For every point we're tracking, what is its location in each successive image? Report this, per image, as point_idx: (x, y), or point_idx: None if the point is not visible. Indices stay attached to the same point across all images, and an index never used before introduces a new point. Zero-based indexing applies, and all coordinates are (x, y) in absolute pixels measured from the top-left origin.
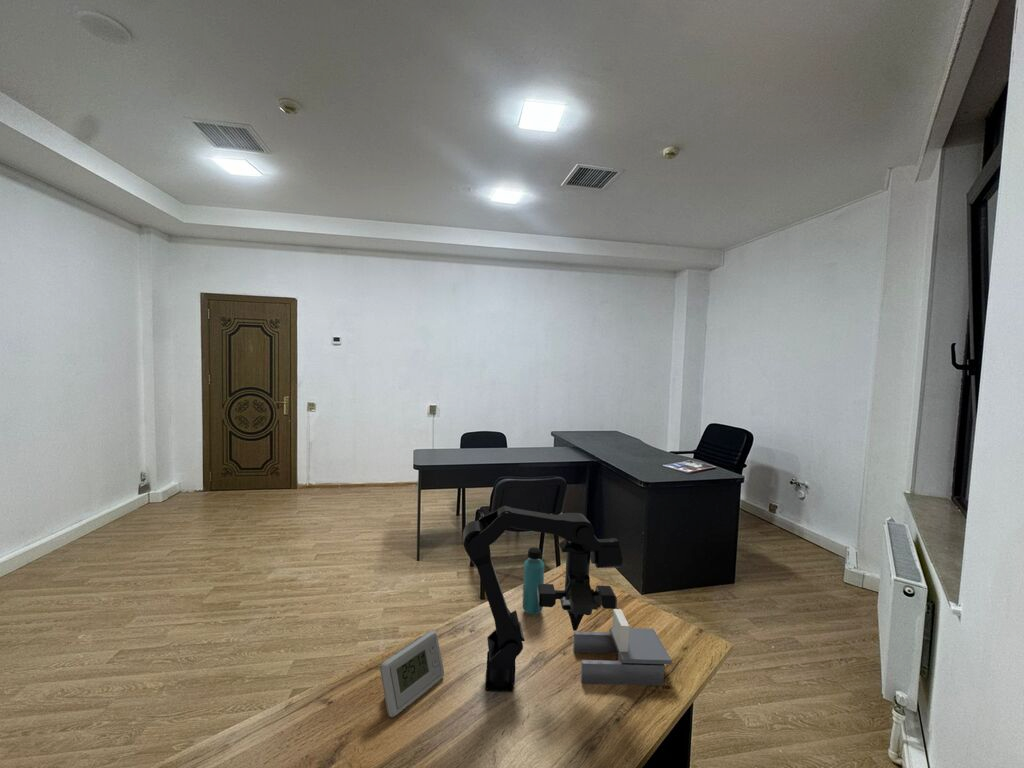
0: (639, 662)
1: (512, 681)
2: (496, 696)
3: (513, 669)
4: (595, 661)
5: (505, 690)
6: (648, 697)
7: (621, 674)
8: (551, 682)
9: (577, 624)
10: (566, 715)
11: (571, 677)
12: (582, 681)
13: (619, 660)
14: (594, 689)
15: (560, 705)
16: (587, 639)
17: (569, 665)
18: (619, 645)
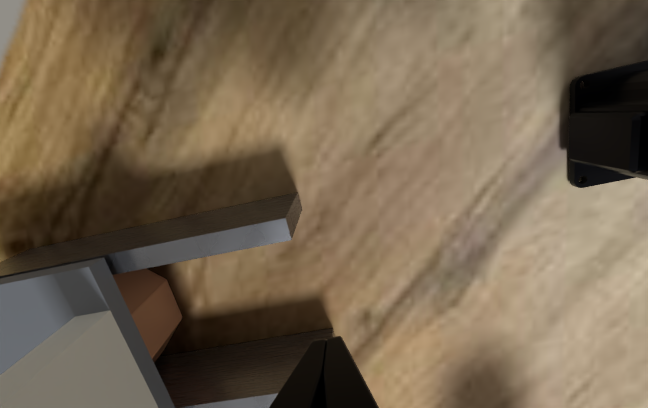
0: (29, 274)
1: (584, 111)
2: (639, 38)
3: (632, 111)
4: (227, 244)
5: (605, 71)
6: (68, 186)
7: (139, 235)
8: (409, 170)
9: (299, 386)
10: (346, 17)
11: (335, 212)
12: (293, 195)
13: (166, 314)
14: (250, 176)
15: (371, 63)
16: (279, 375)
17: (345, 266)
18: (95, 335)
